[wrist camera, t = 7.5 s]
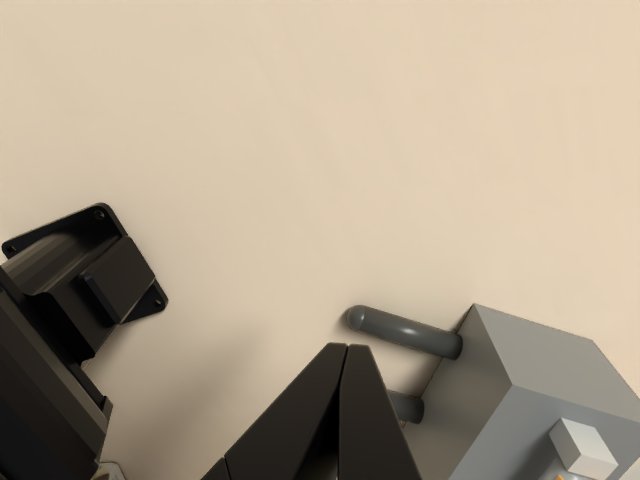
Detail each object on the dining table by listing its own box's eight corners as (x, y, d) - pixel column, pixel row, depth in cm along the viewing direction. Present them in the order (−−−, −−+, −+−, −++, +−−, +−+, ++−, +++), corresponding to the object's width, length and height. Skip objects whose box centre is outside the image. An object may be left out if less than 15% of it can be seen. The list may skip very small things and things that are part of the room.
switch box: (306, 404, 27) (293, 534, 20) (363, 268, 23) (371, 373, 16) (504, 459, 28) (557, 602, 21) (592, 340, 24) (695, 468, 17)
